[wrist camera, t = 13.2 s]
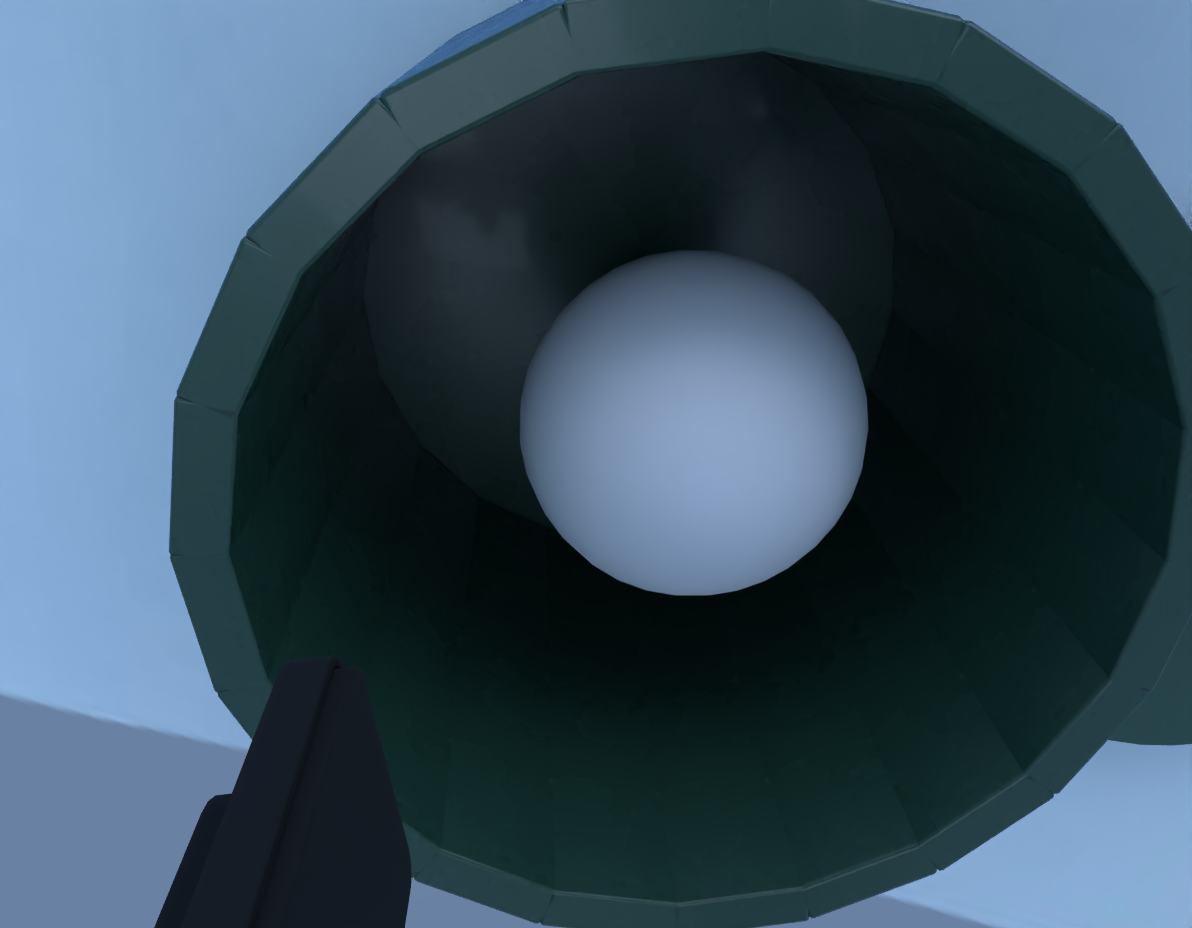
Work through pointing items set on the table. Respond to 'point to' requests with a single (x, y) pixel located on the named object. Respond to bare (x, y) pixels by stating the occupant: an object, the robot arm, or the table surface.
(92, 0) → the table surface
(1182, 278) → the tin
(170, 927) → the robot arm
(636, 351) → the lightbulb
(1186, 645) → the lid
